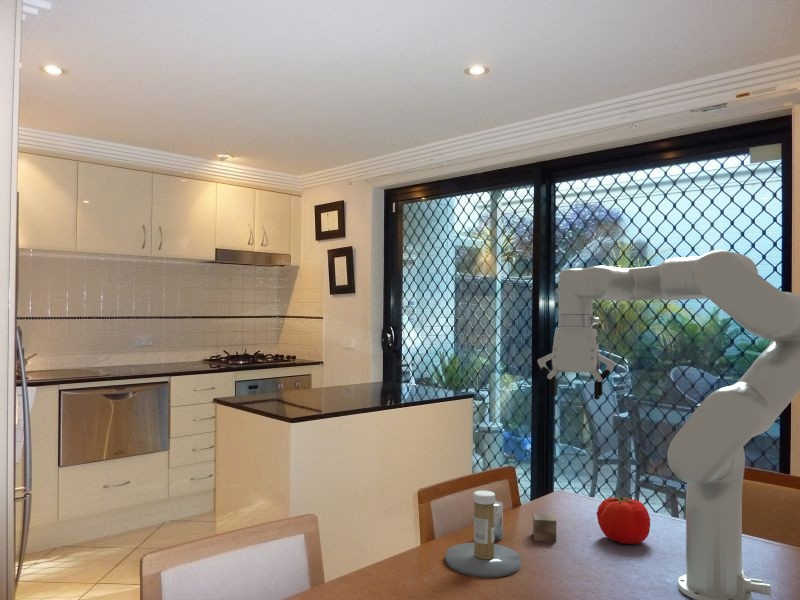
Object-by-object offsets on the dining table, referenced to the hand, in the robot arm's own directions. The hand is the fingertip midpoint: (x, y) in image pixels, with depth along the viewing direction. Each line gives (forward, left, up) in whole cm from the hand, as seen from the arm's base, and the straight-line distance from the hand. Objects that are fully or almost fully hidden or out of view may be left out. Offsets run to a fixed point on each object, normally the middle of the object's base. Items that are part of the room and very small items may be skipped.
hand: (575, 397), depth 139 cm
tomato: (-9, -11, -35) cm, 37 cm away
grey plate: (+16, +17, -34) cm, 41 cm away
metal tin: (+19, +2, -34) cm, 39 cm away
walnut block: (+8, -4, -34) cm, 36 cm away
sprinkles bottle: (+16, +17, -33) cm, 41 cm away
